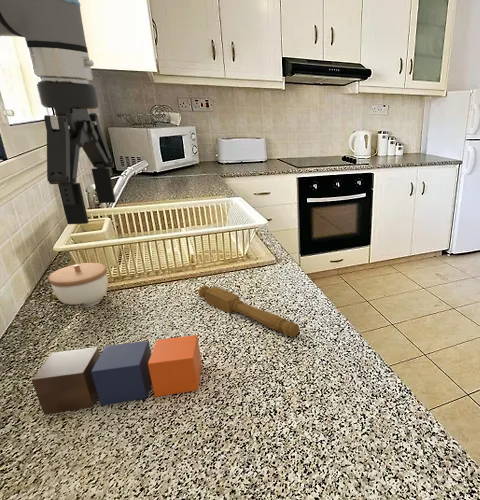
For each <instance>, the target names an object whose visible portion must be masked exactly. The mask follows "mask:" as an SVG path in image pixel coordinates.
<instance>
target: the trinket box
mask: <svg viewBox="0 0 480 500" xmlns="http://www.w3.org/2000/svg"><path fill="white" fill-rule="evenodd" d="M48 282H49V284H50V287H51V290H52V292H53V293H54V295H55V297H56V298H57V300H58V301H60V302H61V303H62V304H64V305H73V306H74V305H81V306H80V308H79V309H86V308H91V307H93V306H96V305H98V304H99V303H101V301H103V300H102V299H103V298H104V296H105V295H106V294H107V292H108V288H109V275H108V268H107V266H106V265H105V264H103V263H99V262H83V263H78V264H77V263H76V264H72V265H68V266H65V267H64V266H63V267H61V268H59V269H57V270H55V271H53V272H52V273H51V274H49V276H48Z"/></svg>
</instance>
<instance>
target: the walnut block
mask: <svg viewBox="0 0 480 500" xmlns="http://www.w3.org/2000/svg"><path fill="white" fill-rule="evenodd" d="M100 355H101V353H100V349H99V346H93V347H86V348H76V349H69V350H62V351H60V350H59V351H53V352H52V351H51V353H50V355H49V356H48V357H47V358H46V360H45V361H44V363H43V364H42V365H41V366H40V368H39V369H38V370H37V372H36V373H35V374H34V376H33V377H32V378H31V383H32V386H33V388H34V391H35V394H36V396H37V397H36V398H37V400H38V402H39V405H40V408H41V411H42V413H43V415H49V414H56V413H62V412H69V411H76V410H81V409H88V408H93V407H94V406H95V404H96V402H97V399H99V398H98V394H97V391H96V387H95V384H94V380H93V376H92V373H91V371H92V369H93V367H94V366H95V364H96V362H97V360H98V358H99V357H100Z"/></svg>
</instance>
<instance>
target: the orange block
mask: <svg viewBox="0 0 480 500" xmlns="http://www.w3.org/2000/svg"><path fill="white" fill-rule="evenodd" d="M200 350H201V349H200V344H199V337H198V334H192V335H185V336H177V337H169V338H160V339H156V340H155V343H154V346H153V349H152V350H151V357H150V360H149V362H148V367H149V371H150V376H151V381H152V383H151V386H152V390H153V395H154V397H155V398H157V397H163V396H170V395H176V394H182V393H188V392H195V391H198V390H199V387H200V380H201V373H202V367H203V366H202V364H203V363H202V358H201V356H202V355H201V351H200Z"/></svg>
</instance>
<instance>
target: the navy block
mask: <svg viewBox="0 0 480 500" xmlns="http://www.w3.org/2000/svg"><path fill="white" fill-rule="evenodd" d="M151 354H152V350H151V346H150V340H142V341H135V342H128V343H120V344H110V345H105V346H104V347H103V349H102V351H101V353H100V357H99V358H98V360H97V362H96V364H95V366H94V367H93V369H92V371H91V373H92V376H93V380H94V384H95V387H96V391H97V394H98V398H97V399H98V401H99V404H100V406H106V405H113V404H118V403H125V402H131V401H137V400H144V399H148V396H149V392H150V390H151V386H152V381H151V376H150V371H149V367H148V362H149V360H150V357H151Z"/></svg>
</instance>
